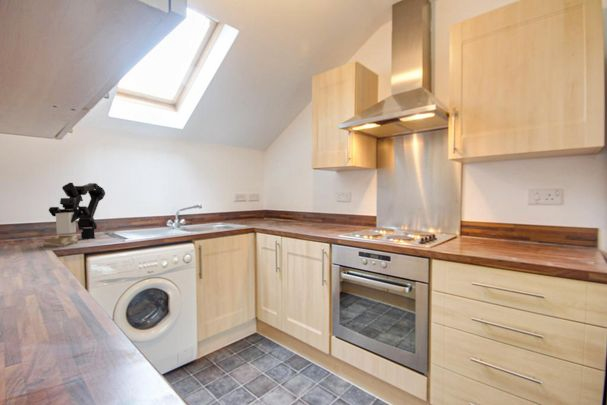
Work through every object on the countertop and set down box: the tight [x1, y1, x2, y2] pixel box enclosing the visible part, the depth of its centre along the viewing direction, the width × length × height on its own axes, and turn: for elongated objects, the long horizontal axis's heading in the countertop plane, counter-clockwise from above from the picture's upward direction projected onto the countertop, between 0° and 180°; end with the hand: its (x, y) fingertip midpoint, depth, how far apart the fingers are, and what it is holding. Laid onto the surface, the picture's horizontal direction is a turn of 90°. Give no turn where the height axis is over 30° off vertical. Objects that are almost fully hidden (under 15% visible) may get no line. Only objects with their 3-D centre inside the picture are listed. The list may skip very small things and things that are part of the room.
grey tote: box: [55, 212, 77, 236], centre depth 168 cm, size 6×6×12 cm
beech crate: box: [42, 235, 79, 248], centre depth 171 cm, size 11×11×4 cm
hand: (64, 222), depth 166 cm, fingers closed on grey tote, 6 cm apart
